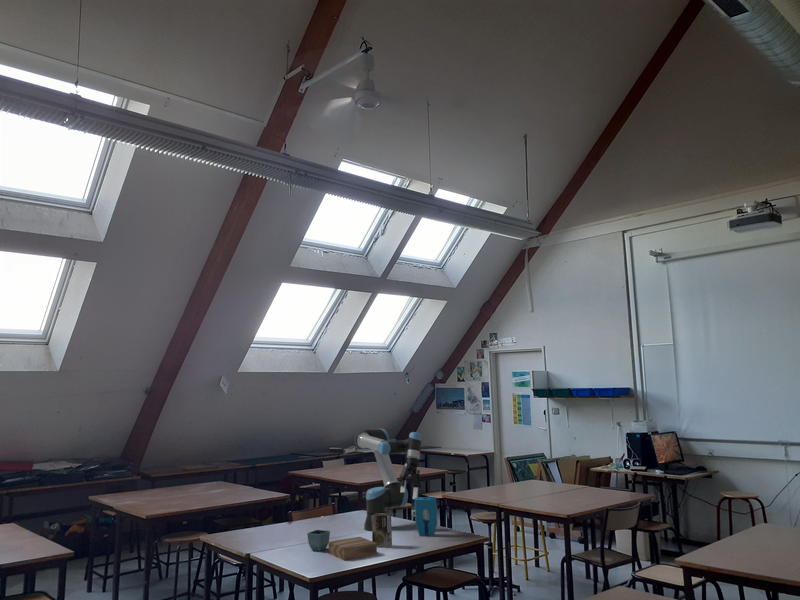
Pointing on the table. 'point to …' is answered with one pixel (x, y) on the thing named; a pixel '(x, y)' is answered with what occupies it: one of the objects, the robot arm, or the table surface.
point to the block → (430, 506)
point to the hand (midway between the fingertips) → (408, 495)
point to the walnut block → (352, 548)
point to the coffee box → (382, 529)
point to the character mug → (423, 514)
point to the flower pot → (318, 539)
